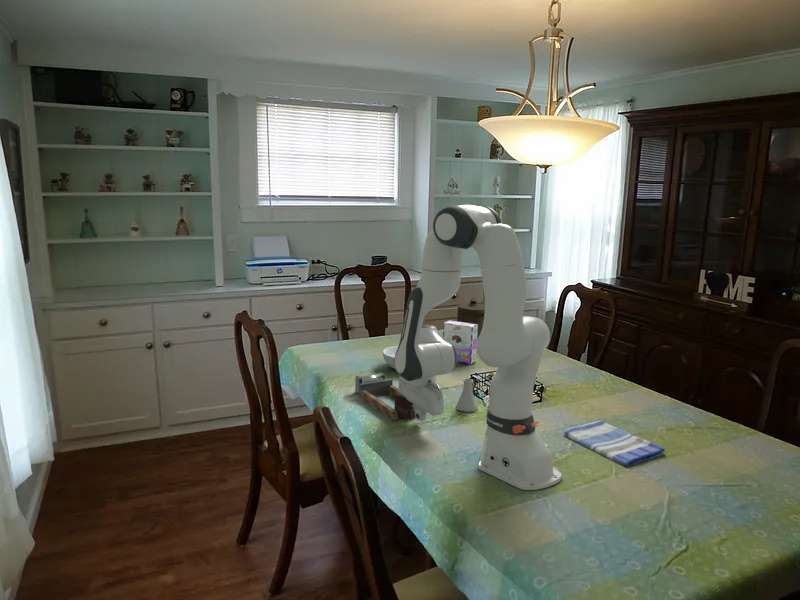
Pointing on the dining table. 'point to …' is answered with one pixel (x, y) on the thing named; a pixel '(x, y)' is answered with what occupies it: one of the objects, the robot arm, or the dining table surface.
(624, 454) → the dish towel
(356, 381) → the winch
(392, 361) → the serving bowl
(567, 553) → the dining table surface
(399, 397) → the box
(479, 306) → the wooden container
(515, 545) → the dining table surface
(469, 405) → the flask
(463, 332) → the candy box
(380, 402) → the bay
